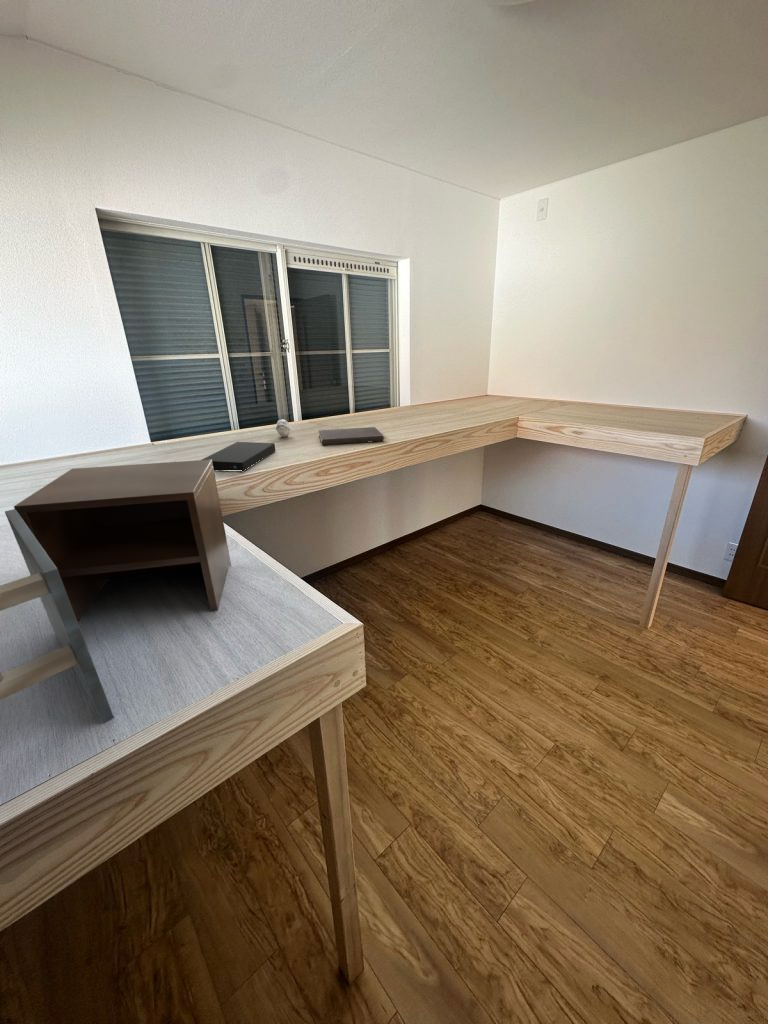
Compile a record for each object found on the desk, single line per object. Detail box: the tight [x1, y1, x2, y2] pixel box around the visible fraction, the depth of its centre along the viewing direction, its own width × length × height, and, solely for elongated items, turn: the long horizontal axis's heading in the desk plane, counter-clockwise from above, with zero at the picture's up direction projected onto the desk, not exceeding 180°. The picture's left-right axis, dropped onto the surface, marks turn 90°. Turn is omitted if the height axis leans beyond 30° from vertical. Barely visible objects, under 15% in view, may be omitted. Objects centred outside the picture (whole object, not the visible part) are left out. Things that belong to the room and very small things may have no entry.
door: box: [0, 508, 115, 725], centre depth 44 cm, size 8×20×20 cm, turn 47°
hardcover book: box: [317, 426, 385, 446], centre depth 160 cm, size 16×23×2 cm
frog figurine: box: [275, 418, 292, 438], centre depth 164 cm, size 6×7×7 cm
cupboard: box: [13, 459, 232, 623], centre depth 62 cm, size 15×20×20 cm
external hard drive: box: [201, 441, 276, 472], centre depth 135 cm, size 14×23×3 cm, turn 170°
